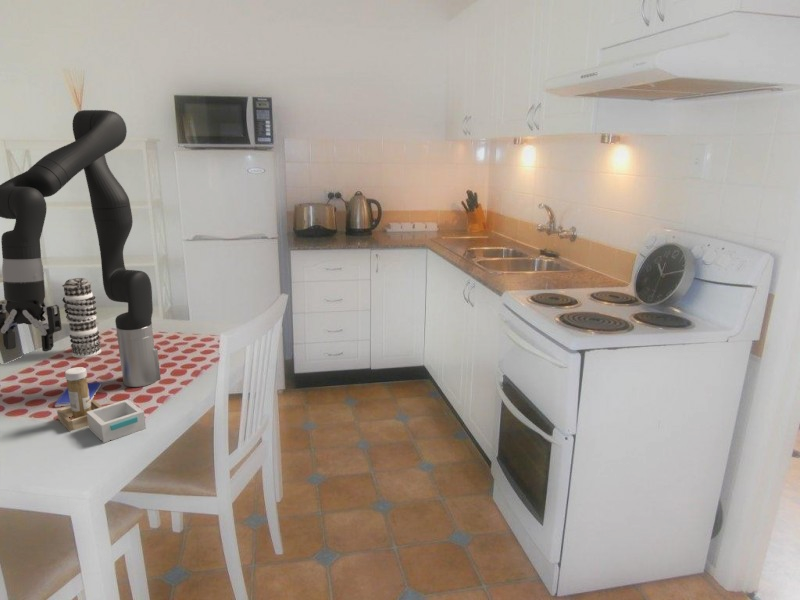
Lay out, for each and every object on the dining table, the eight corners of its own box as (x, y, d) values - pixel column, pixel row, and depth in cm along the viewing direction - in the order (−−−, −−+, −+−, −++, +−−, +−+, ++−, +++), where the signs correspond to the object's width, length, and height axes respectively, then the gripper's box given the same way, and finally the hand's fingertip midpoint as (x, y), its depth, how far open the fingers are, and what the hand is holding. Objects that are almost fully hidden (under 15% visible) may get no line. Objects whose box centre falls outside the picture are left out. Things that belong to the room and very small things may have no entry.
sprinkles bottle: (95, 419, 139) (88, 370, 135) (75, 425, 136) (67, 375, 132) (90, 413, 142) (82, 364, 138) (70, 419, 139) (62, 369, 135)
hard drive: (88, 400, 147) (100, 382, 158) (54, 403, 145) (68, 384, 156) (89, 405, 147) (101, 387, 159) (55, 409, 145) (69, 389, 157)
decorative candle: (90, 359, 178) (79, 283, 171) (64, 357, 179) (52, 282, 172) (108, 349, 186) (99, 277, 180) (84, 347, 188) (73, 276, 181)
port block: (129, 415, 141) (127, 399, 140) (146, 428, 135) (144, 412, 134) (88, 428, 135) (86, 411, 133) (104, 443, 128) (102, 426, 127)
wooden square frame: (95, 408, 145) (93, 399, 144) (107, 419, 139) (106, 410, 138) (58, 419, 139) (56, 410, 138) (70, 431, 133) (68, 422, 132)
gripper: (66, 277, 125) (70, 347, 128) (5, 275, 126) (11, 344, 128) (43, 282, 118) (48, 355, 120) (-21, 279, 118) (-15, 352, 121)
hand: (28, 349), depth 124 cm, fingers open, 8 cm apart
